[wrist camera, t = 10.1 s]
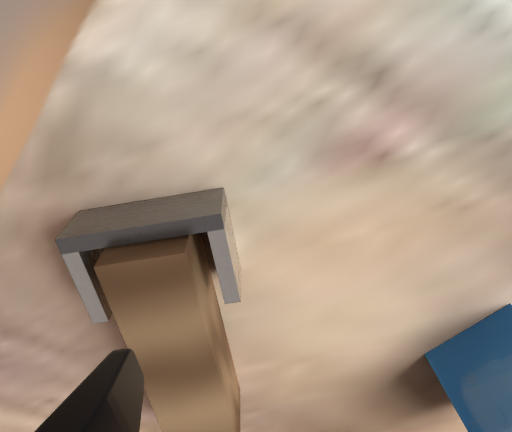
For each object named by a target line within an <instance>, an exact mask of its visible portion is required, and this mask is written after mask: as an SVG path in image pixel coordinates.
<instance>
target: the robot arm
mask: <svg viewBox="0 0 512 432" xmlns="http://www.w3.org/2000/svg"><path fill="white" fill-rule="evenodd" d="M143 393H144V375H143V372H142V369H141V367H140V364H139V362H138V360H137V357H136V355H135V353H134V351H133V350H132V349H130V348H127V349H120V350H115V351H112V352H111V353H110V354H109V355H108V356H107V357H106V358H105V359H104V360H103V361H102V362H101V363H100V364H99V365H98V366H97V367H96V368H95V369H94V370H93V371H92V372H91V373H90V375H89V376H88V377H87V378H86V379H85V380H84V381H83V382H82V383H81V384H80V385H79V386H78V387H77V388H76V389H75V390H74V391H73V392H72V393H71V394H70V395H69V396H68V397H67V398H66V399H65V400H64V401H63V403H62V404H61V405H60V406H59V407H58V408H57V409H56V410H55V411H54V412H53V413H52V414H51V415H50V416H49V417H48V418H47V419H46V420H45V421H44V422H43V423H42V424H41V425H40V426H39V427H38V428H37V430H36V431H35V432H139V429H140V420H141V411H142V402H143Z"/></svg>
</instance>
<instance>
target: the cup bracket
mask: <svg viewBox="0 0 512 432" xmlns="http://www.w3.org/2000/svg"><path fill="white" fill-rule="evenodd" d="M203 232H207V233H208V237H209V241H210V246H211V250H212V254H213V258H214V262H215V266H216V270H217V274H218V278H219V282H220V286H221V290H222V295H223V299H224V303H225V304H228V303H235V302H241V288H240V263H239V258H238V254H237V249H236V244H235V239H234V235H233V230H232V225H231V220H230V216H229V211H228V206H227V201H226V197H225V192H224V188H219V189H213V190H206V191H200V192H194V193H188V194H181V195H175V196H169V197H163V198H156V199H150V200H144V201H138V202H131V203H125V204H119V205H113V206H106V207H100V208H94V209H88V210H81V211H79V212H78V213H77V215H76V216H75V217H74V218H73V219H72V220H71V221H70V223H69V224H68V225H67V226H66V227H65V228H64V230H63V231H62V232H61V233H60V234H59V235H58V236H57V238H56V239H55V241H56V244H57V246H58V248H59V250H60V252H61V255H62V257H63V259H64V261H65V263H66V265H67V268H68V270H69V272H70V274H71V276H72V279H73V281H74V283H75V285H76V287H77V290H78V292H79V294H80V296H81V298H82V300H83V303H84V305H85V307H86V309H87V311H88V314H89V316H90V318H91V320H92V322H93V324H94V323H101V322H108V321H109V319H110V317H111V315H112V311H111V308H110V306H109V303H108V301H107V299H106V296H105V294H104V291H103V289H102V287H101V284H100V282H99V280H98V277H97V275H96V272H95V270H94V268H93V267H94V265H95V264H96V262H97V260H98V259H99V257H100V255H101V254H102V252H103V251H104V249H105V248H107V247H113V246H119V245H126V244H132V243H139V242H145V241H152V240H158V239H164V238H171V237H177V236H184V235H190V234H196V233H203Z"/></svg>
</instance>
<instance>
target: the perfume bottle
mask: <svg viewBox="0 0 512 432" xmlns="http://www.w3.org/2000/svg"><path fill="white" fill-rule="evenodd" d="M425 356H426V358H427V360H428V361H429V363H430V365H431V367H432V369H433V370H434V372H435V374H436V376H437V377H438V379H439V381H440V383H441V384H442V386H443V388H444V390H445V392H446V393H447V395H448V397H449V399H450V400H451V402H452V404H453V406H454V408H455V409H456V411H457V413H458V415H459V416H460V418H461V420H462V422H463V423H464V425H465V427H466V429H467V431H468V432H512V305H511V304H509V305H507V306H505V307H503V308H502V309H500V310H498V311H497V312H495V313H493V314H492V315H490V316H488V317H487V318H485V319H483V320H481V321H480V322H478V323H476V324H475V325H473V326H471V327H470V328H468V329H466V330H465V331H463V332H461V333H459V334H458V335H456V336H454V337H453V338H451V339H449V340H448V341H446V342H444V343H443V344H441V345H439V346H437V347H436V348H434V349H432V350H431V351H429V352H427V353H426V354H425Z"/></svg>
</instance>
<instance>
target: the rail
mask: <svg viewBox="0 0 512 432" xmlns="http://www.w3.org/2000/svg"><path fill="white" fill-rule="evenodd" d="M93 268H94V270H95V272H96V275H97V277H98V280H99V282H100V284H101V287H102V289H103V291H104V294H105V296H106V299H107V301H108V303H109V306H110V308H111V311H112V313H113V315H114V318H115V320H116V323H117V325H118V327H119V330H120V332H121V335H122V337H123V339H124V342H125V344H126V346H127V348H130V349H132V350H133V351H134V353H135V355H136V357H137V360H138V362H139V364H140V367H141V369H142V372H143V375H144V389H145V392H146V394H147V397H148V399H149V401H150V404H151V406H152V409H153V411H154V413H155V416H156V418H157V421H158V423H159V425H160V428H161V430H162V432H240V388H239V384H238V380H237V376H236V372H235V368H234V364H233V360H232V356H231V352H230V348H229V344H228V340H227V336H226V332H225V328H224V324H223V320H222V316H221V312H220V308H219V304H218V300H217V296H216V292H215V288H214V284H213V281H212V277H211V273H210V269H209V265H208V261H207V257H206V253H205V249H204V245H203V241H202V237H201V233H196V234H190V235H184V236H177V237H171V238H164V239H158V240H152V241H145V242H139V243H132V244H126V245H119V246H113V247H107V248H105V249H104V251H103V252H102V254H101V255H100V257H99V259H98V260H97V262H96V264H95V265H94V267H93Z"/></svg>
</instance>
